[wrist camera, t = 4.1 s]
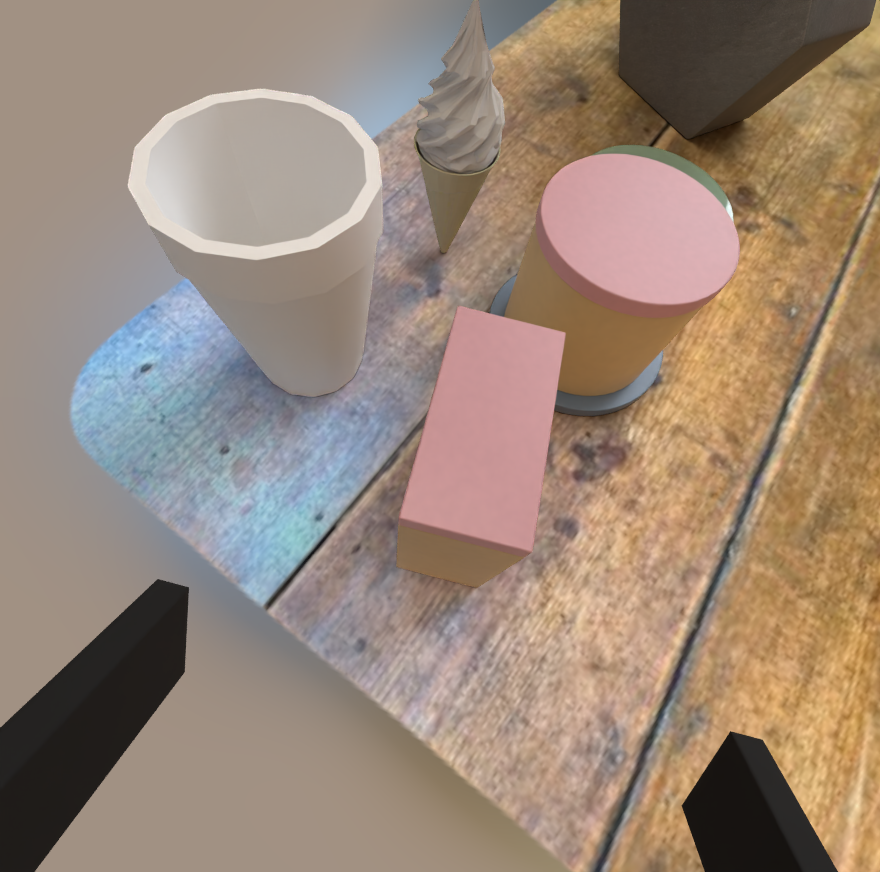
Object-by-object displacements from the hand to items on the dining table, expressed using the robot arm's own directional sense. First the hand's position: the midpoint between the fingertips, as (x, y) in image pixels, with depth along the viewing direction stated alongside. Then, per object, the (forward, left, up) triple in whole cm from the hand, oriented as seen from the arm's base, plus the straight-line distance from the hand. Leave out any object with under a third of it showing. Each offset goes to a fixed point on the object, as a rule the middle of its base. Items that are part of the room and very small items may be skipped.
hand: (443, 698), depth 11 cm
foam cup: (-14, +14, -13) cm, 24 cm away
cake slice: (-2, +9, -13) cm, 16 cm away
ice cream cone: (-10, +26, -13) cm, 31 cm away
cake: (+1, +23, -13) cm, 26 cm away
